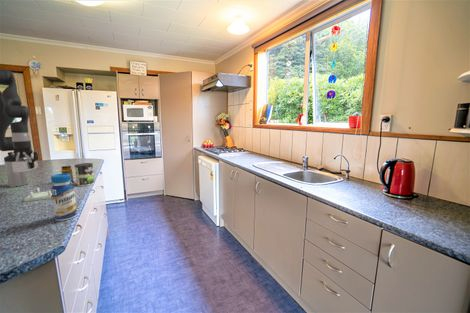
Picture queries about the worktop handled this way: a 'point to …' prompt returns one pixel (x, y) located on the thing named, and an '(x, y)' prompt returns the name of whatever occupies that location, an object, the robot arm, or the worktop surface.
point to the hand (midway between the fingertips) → (26, 168)
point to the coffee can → (84, 174)
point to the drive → (22, 165)
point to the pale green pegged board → (38, 195)
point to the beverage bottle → (63, 197)
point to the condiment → (67, 171)
